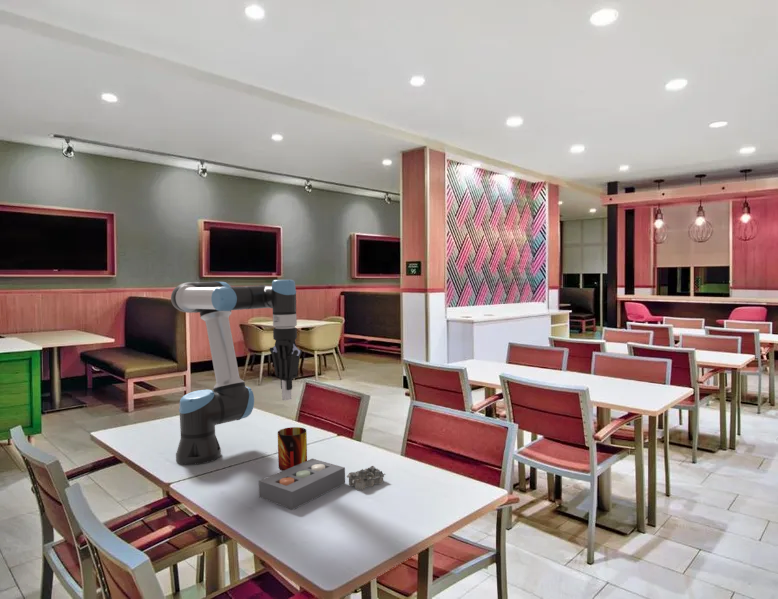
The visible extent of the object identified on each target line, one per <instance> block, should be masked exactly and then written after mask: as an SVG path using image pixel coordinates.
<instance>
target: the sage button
mask: <svg viewBox="0 0 778 599" xmlns="http://www.w3.org/2000/svg"><path fill="white" fill-rule="evenodd" d="M296 476H297V477H300V478H305V477H307V476H310V472H309V471H306V470H303V471H299V472H297V473H296Z"/></svg>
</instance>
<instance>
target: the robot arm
mask: <svg viewBox="0 0 778 599" xmlns="http://www.w3.org/2000/svg"><path fill="white" fill-rule="evenodd" d="M170 294H171V295H170V301H171V304H172V306H173V307H174V308H175V309H176V310H178V311H179V312H182V313H189V314H192V313H193V314H194V313H195V314H196V313H199V316H200V320H202V321H204V322H205V326H206V331H207V332H206V334H207V338H208V344H209V349H210V356H211V359H212V366H213V371H214V378H215V384H214V386H213V389H201V390H200V389H198V390H194V391H191V392H188V393H186V394H184V395H183V396H182V397H180V400H179V409H178V412H179V426H180V429H179V430H180V440H179V442H178V447H177V450H176V453H175V461H176V462H177V463H178V464H181V465H185V466H186V465H188V466H190V465H191V466H192V465H193V466H194V465H200V464H207V463H211V462H213V461H215V460H218V459H219V458H220V457H221V456H222V448H221V445H220V443H219V440H218V438H217V434H216V426H217V425H222V424H226V423H230V422H234V421H240V420H242V419H246V418H248V417H249V416H250V415H251V414H252V412H253V410H254V406H255V395H254V391H253V390H252V388H251V387H250V386H246V384H245V383H246V382H245V381H244V380H243V379H241V378H240V372H239V367H238V361H237V355H236V351H235V344H234V339H233V335H232V329H231V325H230V324H231V323H230V316H231V315H232V312H233V311H240V310H255V309H256V310H257V309H272V327H274V328H273V329H272V331H273V332H272V333H273V334H272V335H273V336H272V338H273V340H274V341H275V343H274V346H273V347H269V352H270V354H271V358H272V362H273V368H274V374H275V377H276V378H279V380H280V389H281V400H282V401H285V402H286V401H288V400H292V390H293V380H294V379H296V378H297V377H298V371H299V365H300V358H301V355H302V353H303V349H299V348H298V347H297V343H296V339H297V337H298V329H297V328H296V326H297V324H298V322H297V320H298V319H297V289H296V282H295V280H294V279H273V280H272V282H271V285H266V284H263V285H262V284H261V285H248V286H231V285H230V284H228V282H225V281H217V280H214V281H192V282H191V281H188V282H184V283H183V282H182V283H180V284H179V285H177V286H175V288H174V289H173V290H172V292H171V293H170Z"/></svg>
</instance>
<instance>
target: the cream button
mask: <svg viewBox="0 0 778 599" xmlns="http://www.w3.org/2000/svg"><path fill="white" fill-rule="evenodd" d="M311 468H312V470H315V471H321V470H323V469H325V465H323V464H315V465H313V466H312V467H311Z"/></svg>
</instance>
